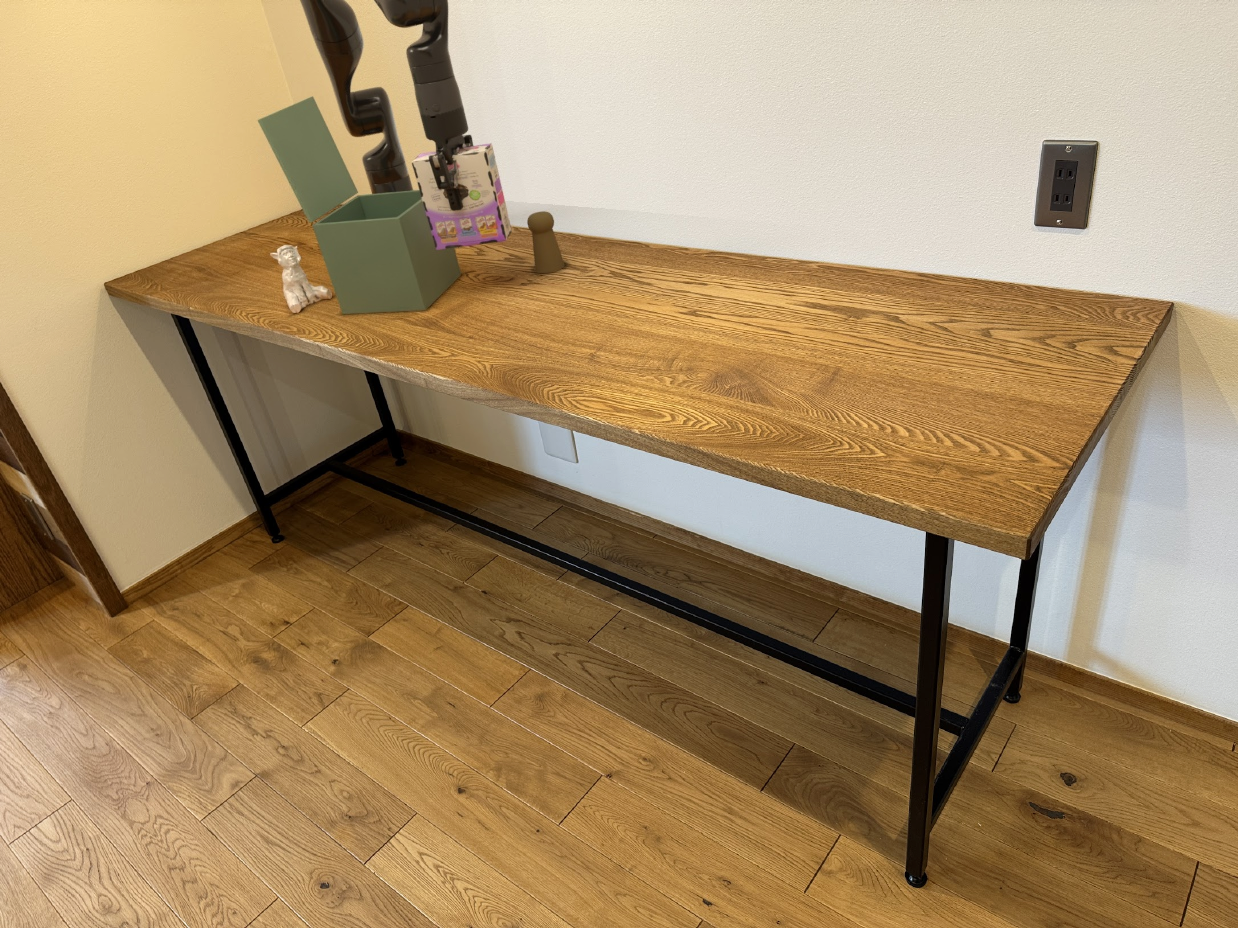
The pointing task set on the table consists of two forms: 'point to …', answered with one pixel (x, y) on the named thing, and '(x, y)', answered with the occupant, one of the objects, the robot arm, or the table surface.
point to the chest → (384, 254)
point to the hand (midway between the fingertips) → (464, 203)
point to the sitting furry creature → (297, 280)
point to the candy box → (465, 200)
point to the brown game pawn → (544, 243)
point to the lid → (309, 157)
